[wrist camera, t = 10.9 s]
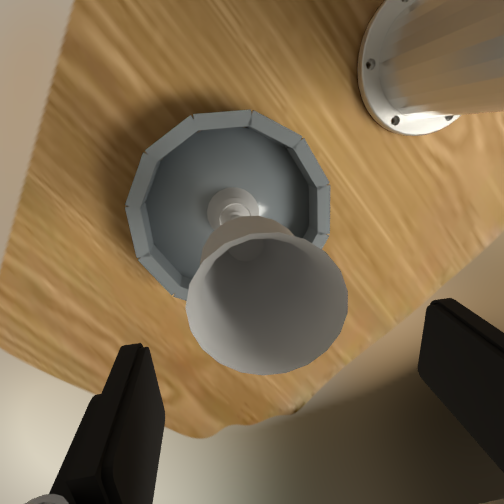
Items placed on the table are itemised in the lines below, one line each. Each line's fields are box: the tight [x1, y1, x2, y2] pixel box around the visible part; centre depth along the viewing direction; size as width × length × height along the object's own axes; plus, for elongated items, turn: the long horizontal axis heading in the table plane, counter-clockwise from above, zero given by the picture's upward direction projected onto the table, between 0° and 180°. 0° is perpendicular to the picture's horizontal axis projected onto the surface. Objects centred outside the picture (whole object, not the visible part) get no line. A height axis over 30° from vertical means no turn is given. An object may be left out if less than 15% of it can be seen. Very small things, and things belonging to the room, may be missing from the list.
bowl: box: [125, 110, 330, 301], centre depth 29 cm, size 18×18×4 cm
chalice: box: [186, 187, 348, 375], centre depth 22 cm, size 7×7×18 cm
